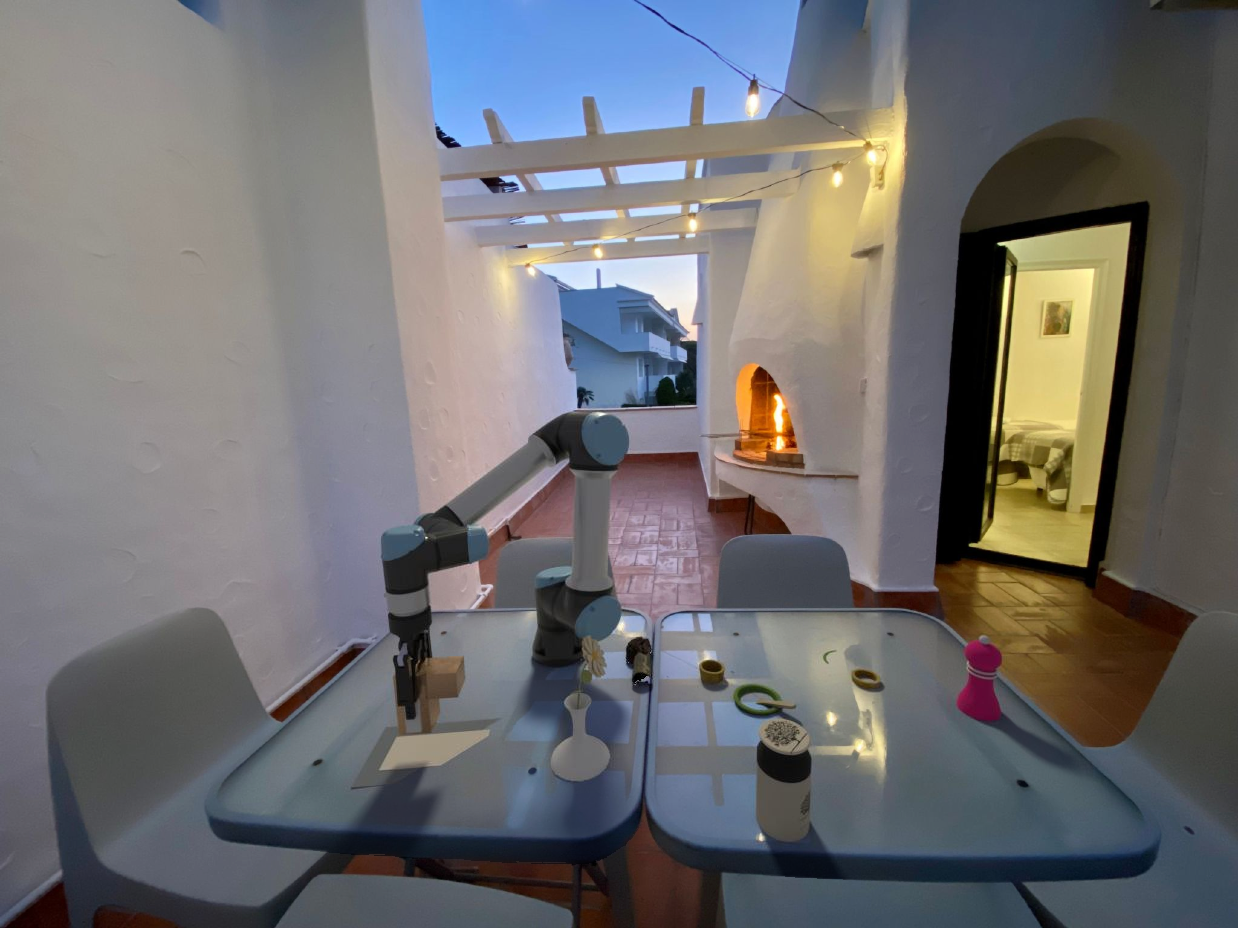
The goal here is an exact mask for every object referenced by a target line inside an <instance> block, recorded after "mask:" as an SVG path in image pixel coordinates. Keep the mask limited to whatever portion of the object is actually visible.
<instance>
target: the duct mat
mask: <svg viewBox="0 0 1238 928" xmlns="http://www.w3.org/2000/svg"><path fill="white" fill-rule="evenodd" d="M501 719H502V717H500V718H499V717H498V718H497V717H496V718H487V719H475V720H463V721H462V720H460V721H447V722H436V724H435V726H434V728H433V731H432V733H425V734H411V735H399V730H398V725H396V726H386V727H385V728H384V729H383V731H382V733H381V735H379V736H380V737H379V738H378V740H377V742H376V743H375V745H374V747H373V748H372V750H371V752H370V754H369V755H368V757H367V759H366V761H365V763H364V764H363V766H362V768H361V770H360V771H359V773H358V775H357V776H356V778H355V780H354V782H353V784H352V785H351V787H350V789H360V788H368V787H369V788H370V787H378V786H386V785H394V784H396V783H398V782H399V781H401V780H402V779H404V778H406V777H408V776H409V775H411V774H412V773H415V772H416V771H418V770H419V769H420V768H428V767H437V766H442V765H444V764H445V763H448V761H450V760H452V759H454V758H455V757H457V756H458V755H460V754H461V753H463V752H464V751H467V750H468V749H469V748H471V747H473V746H474V745H476V744H477V743H479V742H481V741H482V740H484V739H485V738H487V737H489V735H490V731H491V729H486V728H488V727H489V726H491V725H493V724H496V723H497V722H498V721H500V720H501Z"/></svg>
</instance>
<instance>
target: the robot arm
mask: <svg viewBox="0 0 1238 928" xmlns="http://www.w3.org/2000/svg"><path fill="white" fill-rule="evenodd" d="M629 449H630V436H629V432H628V429H627V427H626V425H625V424H624V422H623V421H622V420H621V419H620V418H619V417H617V416H616V415H615V414H614V415H613V414H612V413H606V412H601V411H593V412H592V411H568V412H565V413H562V414H560V415H558V416H556V417H554V418H553V419H552V420H550V421H548V422H547V423H546V424H544V425H542V426H541V427H540V428H538V429H537V430H536V431H534V432H533V433H531V434H530V435H529V436H528V438H527V443H525V444H524V445H523V446H521V447H520V448H519V449H518V450H516V451H515V452H513V453H512V454H511V455H509V456H508V457H507V458H505V459H504V460H503V461H501V462H500V463H499V464H497V465H496V466H495V467H493V468H492V469H491V470H490V471H488V472H487V473H485V474H484V475H483V476H482V477H480V478H479V479H477V480H476V481H475V482H473V483H472V484H471V485H470V486H468V487H467V488H466V489H464V490H463V491H461V492H460V493H458V495H456V496H455V497H454V498H452V499H451V500H450V501H448V502H447V503H446V504H444V505H442V506H441V507H440V508H439V509H437V510H436V511H434V512H427V513H422V514H421V515H419V516H418V517H417V518H416V519H415V520H414V522H413V524H409V525H408V524H407V525H399V526H394V527H390V528H389V529H386V530H385V531H384V532H382V534H381V537H380V551H381V552H380V553H381V555H380V558H381V563H382V572H383V578H384V579H383V580H384V589H385V592H384V593H383V597H384V598H386V606H387V608H386V609H387V611H388V614H387V619H388V620H387V621H388V630H389V632H390V634H392V635H394V636H396V637H398V638H399V641H398V645H397V647H398V649H397V650H398V651H399V652H398V654H395V655H393V657H392V662H393V667H394V675H395V676H396V690H397V704H398V707H401V706H404V714H405V724H406V733H416V732H421V731H422V720H421V710H420V700H419V698H417V677H416V675H417V669H418V663H419V662H420V660H426V658H434V657H433V651H432V643H431V642H432V641H431V633H430V632H431V628H430V627H431V626H432V623H433V616H432V606H431V603H432V601H431V591H430V581H429V574H431V573H432V574H433V573H437V572H441V571H444V570H449V569H453V568H458V567H461V566H465V565H471V564H472V565H473V564H474V563H477V562H479V561H483V560H485V559H486V558H487V557H488V555H489V553H490V541H489V536H488V533H487V530H486V529H485V528H484V526H483V525H481V524H480V523H479V524H478V523H477V522H479V521H480V520H482V519H483V518H484V517H485V516H487V515H488V514H489V513H490V512H492V511H493V510H494V509H496V508H497V507H498V506H499V505H501V504H502V503H503V502H504V501H506V500H507V499H508V498H510V496H512V495H513V494H514V493H516V492H517V491H518V490H519V489H521V488H522V487H523V486H525V485H526V484H527V483H528V482H530V481H531V480H532V479H533V478H535V477H536V476H537V475H538V474H540V473H541V472H542V471H543V470H545V469H546V468H554V467H555V466H556V465H558V464H559V463H561V462H562V461H565V460H569V461H568V470H569V471H570V472H571V473H572V474H573V475H574V497H573V498H574V501H573V503H574V504H573V527H572V528H573V529H572V530H573V532H572V553H571V554H572V555H571V556H572V558H571V561H572V562H571V565H570V566H569V565H567V566H566V565H565V566H557V567H551V568H547V569H544V570H542V571H540V572H538V573H537V574H536V576H535V578H534V594H535V609H536V622H537V625H536V626H537V628H536V632H535V636H534V639H533V643H532V649H531V651H532V652H531V653H532V659H533V661H535V662H536V663H537V664H538V665H541V666H544V667H550V668H564V667H569V666H572V665H576V664H577V663H579V662H580V660H581V659H582V660H584V659H583V658H584V657H583V651H582V647H583V645H582V641H583V638H584V637H586V636H588V635H590V636H591V638H592V639H593V640H595V639H596V640H597V642H601V641H603V640H605V639H607V638H608V637H609V636H611V635H612V634H613V631H615V630H616V629H617V627H618V625H619V624H620V621H621V617H622V605H621V603H620V601H619V600H618V599H617V597H616V596H613V595H614V592H613V591H614V581H613V579H612V578H611V577H610V576H609V575H608V564H609V544H610V543H609V540H610V516H611V497H612V496H611V492H612V491H611V490H612V478H613V476H614V475H615V474H616V473H617V472H619V463H621V462H622V461H623V460H624V459H625V456H626V455H627V454H628V452H629ZM582 660H581V661H582ZM578 661H579V662H578ZM576 662H577V663H576Z"/></svg>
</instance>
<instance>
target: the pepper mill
mask: <svg viewBox="0 0 1238 928" xmlns="http://www.w3.org/2000/svg"><path fill="white" fill-rule="evenodd" d="M1002 655H1003V654H1002V653H1001V651H1000V649H999V648H998V647H997V646H995V645H994V644H993V643H991V639H990V637H988V636H987V635H983V634H982V635H981V636H979V637H978V640H973V641H971V642H969V643H968V644H967V645H966V646H965V649H964V657H965V658H966V660H967V662H966V671H967V672H968V677H967V682H966V685H965V686H964V687H963V688H962V689H961V690H960V692H959V694H958V696H957V698H956V699H957V700H956V707H957V708H958V710H959V711H960V712H961V713H963V714H964V715H966V716H968V717H969V718H972V719H976V720H980V721H984V722H995V721H998V720H1000V719H1001V717H1002V713H1001V712H1002V711H1001V705H1000V702H999V700H998V698H997V696H996V692H995V688H994V687H995V686H994V682H995V679H996V678H998V672H999V670H998V668H999V667H1000V666H1001V665H1002V664H1003V656H1002Z"/></svg>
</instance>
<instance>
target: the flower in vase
mask: <svg viewBox="0 0 1238 928" xmlns="http://www.w3.org/2000/svg"><path fill="white" fill-rule="evenodd" d="M598 642H599V641H598ZM598 642H597V640H596V639H595V640H593V639H592V638H591V636H590V635H588V636H586V637H584V638H583V641H582V645H583V647H582V651H583V657H584V659H583V660H584V664H583V667H582V670H581V673H580V676H579V677H580V678H579V683H578V685H579V686H578V690H575V691H572V692H571V693H569V694H570V695H569V696H567V697H566V698H565V699H564V706H565V708H566V709H567V710H568V711H569V714H570V716H571V719H572V736H570V737H567V738H566V739H564V740H562V742H561V743H559V745H557V746H556V747H555V749H554V750H553V752H552V755H551V757H550V768H552V769H551V771H552V770H553V771H554V772H555V773H554V772H553V771H552V772H553V773H554V774H555V776H557V775H558V776H559V777H561V778H564V779H567V780H571V781H570V782H573V781H578V782H585V781H588V780H591V779H593V778H596V777H597V776H599V775H600V774H601V772H602V771H603V772H604V771H605V770H606V769H607V767H608V766H607V765H609V764H608V763H610V761H609V759H610V760H611V753H609V752H610V751H609V748H608V745H606V744H605V743H604V742H603V741H602V740H601V739H599V738H597V737H595V736H593V735H590V734H587V732H586V715H587V710H588V708H589V707H590V706H591V703H592V697H591V696H589V695H588V694H587V693H583V692H584V691H585V690H582V689H581V687H582V683H584V684H585V685H590V683H591V682H592V679H593V676H594V677H595V678H596V679H598V678H599V679H601V678H602V677H604V676H605V675H606V671H605V668H607V667H608V664H607V662H606V658H605V657H604V655H605V652H604V650H603V649H601V645H600V644H598ZM586 666H587V669H586ZM606 766H607V767H606ZM604 769H605V770H604ZM603 772H602V773H603ZM558 776H557V777H558ZM559 777H558V778H559ZM561 778H560V779H561ZM564 779H563V780H564ZM567 780H566V781H567ZM584 780H585V781H584Z"/></svg>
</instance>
